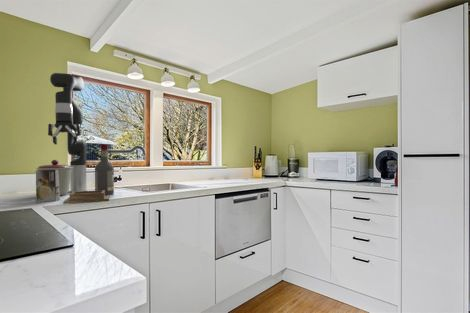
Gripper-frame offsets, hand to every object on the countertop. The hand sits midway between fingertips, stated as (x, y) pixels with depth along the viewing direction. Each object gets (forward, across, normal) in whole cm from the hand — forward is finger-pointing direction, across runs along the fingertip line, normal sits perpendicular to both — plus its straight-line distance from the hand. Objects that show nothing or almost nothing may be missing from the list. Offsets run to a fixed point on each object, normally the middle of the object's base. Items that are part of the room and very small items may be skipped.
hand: (65, 144), depth 143 cm
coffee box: (+29, +9, -3) cm, 31 cm away
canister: (+30, +12, -25) cm, 41 cm away
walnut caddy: (+29, -10, +1) cm, 31 cm away
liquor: (+30, -16, -17) cm, 38 cm away
